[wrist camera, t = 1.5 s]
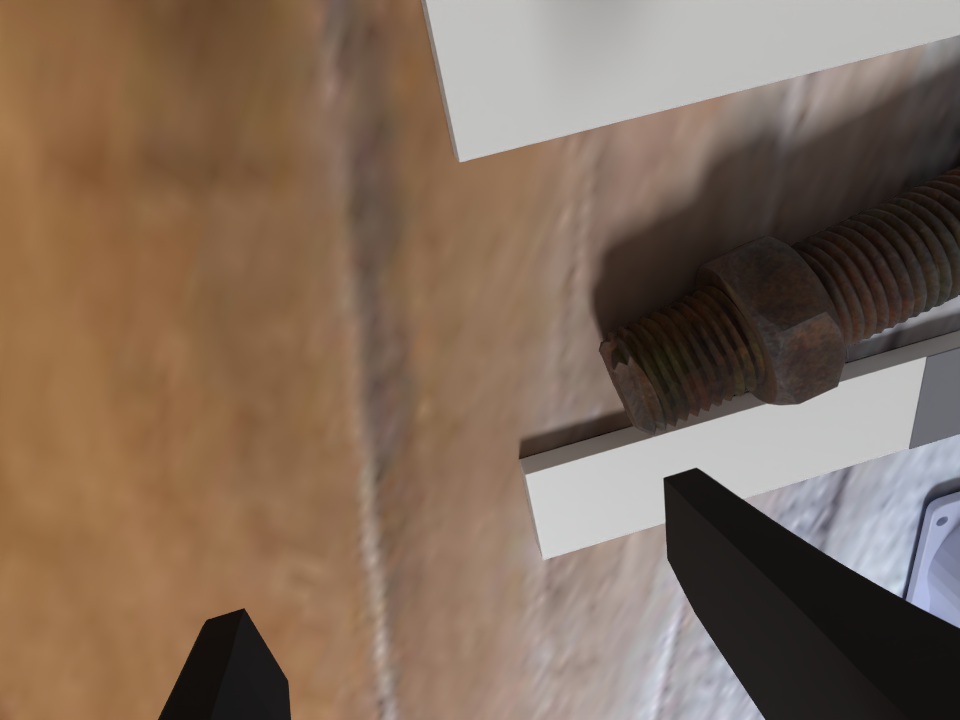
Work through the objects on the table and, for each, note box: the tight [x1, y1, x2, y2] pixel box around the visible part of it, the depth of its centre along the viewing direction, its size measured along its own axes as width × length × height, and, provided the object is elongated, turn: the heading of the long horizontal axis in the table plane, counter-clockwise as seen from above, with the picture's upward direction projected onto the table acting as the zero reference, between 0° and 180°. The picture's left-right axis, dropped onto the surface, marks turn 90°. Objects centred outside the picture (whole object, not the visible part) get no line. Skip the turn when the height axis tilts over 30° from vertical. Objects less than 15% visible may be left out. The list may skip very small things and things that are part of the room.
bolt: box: [599, 166, 960, 436], centre depth 18 cm, size 6×5×15 cm
